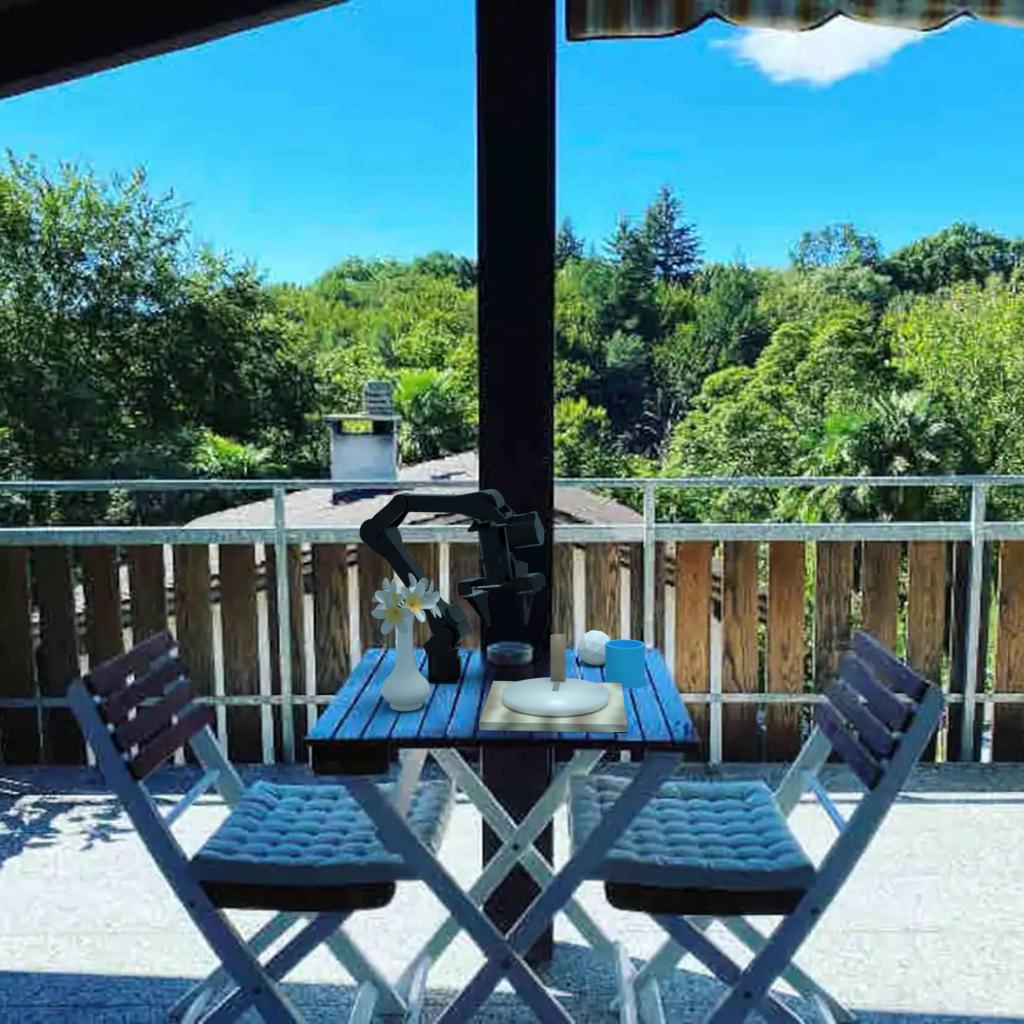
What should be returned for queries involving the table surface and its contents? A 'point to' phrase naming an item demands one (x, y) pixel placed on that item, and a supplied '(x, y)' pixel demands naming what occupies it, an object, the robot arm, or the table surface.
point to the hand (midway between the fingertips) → (506, 625)
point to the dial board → (511, 720)
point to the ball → (593, 647)
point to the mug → (625, 662)
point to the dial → (555, 690)
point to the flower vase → (405, 639)
